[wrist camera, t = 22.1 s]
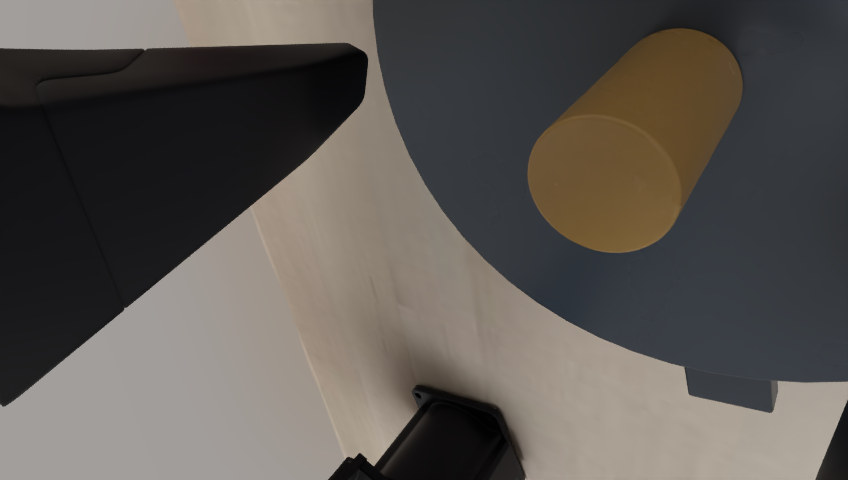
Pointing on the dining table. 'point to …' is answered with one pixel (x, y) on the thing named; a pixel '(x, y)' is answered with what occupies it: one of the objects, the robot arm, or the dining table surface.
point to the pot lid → (644, 165)
